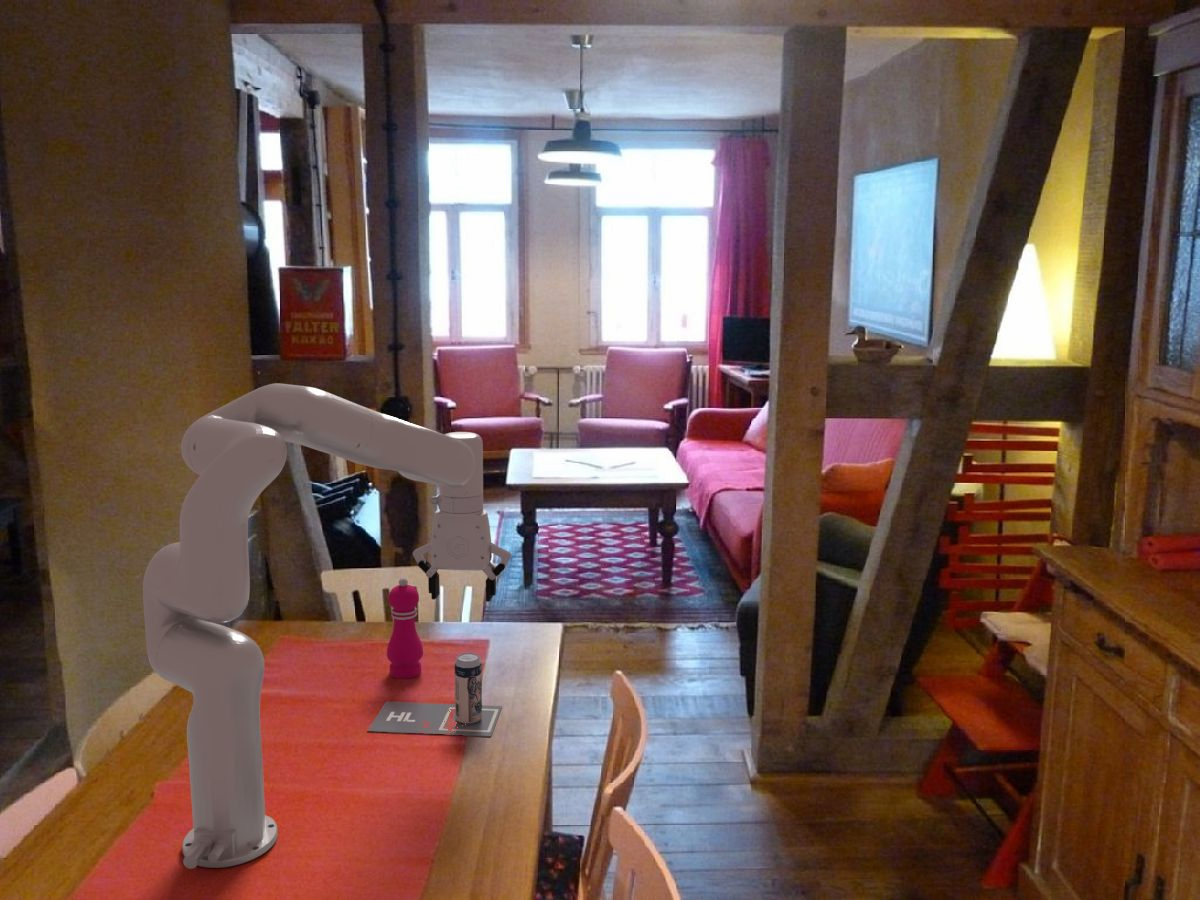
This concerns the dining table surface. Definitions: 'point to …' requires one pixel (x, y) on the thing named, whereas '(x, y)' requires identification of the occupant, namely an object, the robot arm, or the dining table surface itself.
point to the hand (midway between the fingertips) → (462, 598)
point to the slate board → (431, 719)
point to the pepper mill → (404, 632)
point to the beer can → (468, 688)
